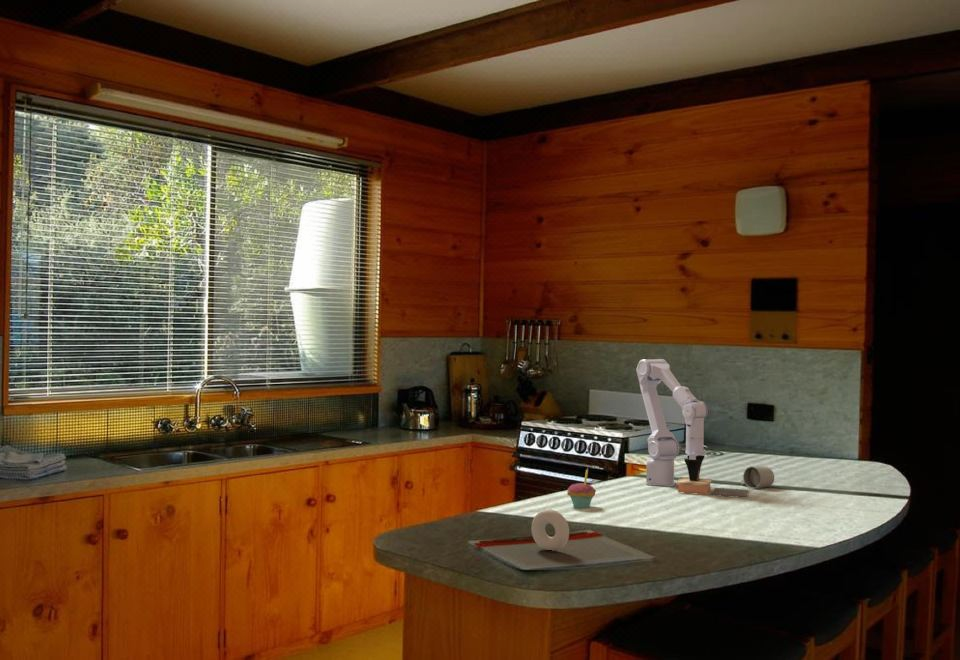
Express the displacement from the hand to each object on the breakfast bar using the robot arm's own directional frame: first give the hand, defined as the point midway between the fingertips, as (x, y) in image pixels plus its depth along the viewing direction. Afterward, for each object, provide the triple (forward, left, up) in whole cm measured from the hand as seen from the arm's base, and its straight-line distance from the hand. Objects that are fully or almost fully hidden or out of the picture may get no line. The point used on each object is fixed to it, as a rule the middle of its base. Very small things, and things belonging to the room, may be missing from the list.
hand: (694, 478), depth 294 cm
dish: (0, 0, -4) cm, 4 cm away
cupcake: (-30, -40, -4) cm, 50 cm away
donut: (-24, -96, -4) cm, 99 cm away
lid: (0, 0, -1) cm, 1 cm away
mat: (+12, +1, -4) cm, 12 cm away
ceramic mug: (+19, +16, -4) cm, 25 cm away
